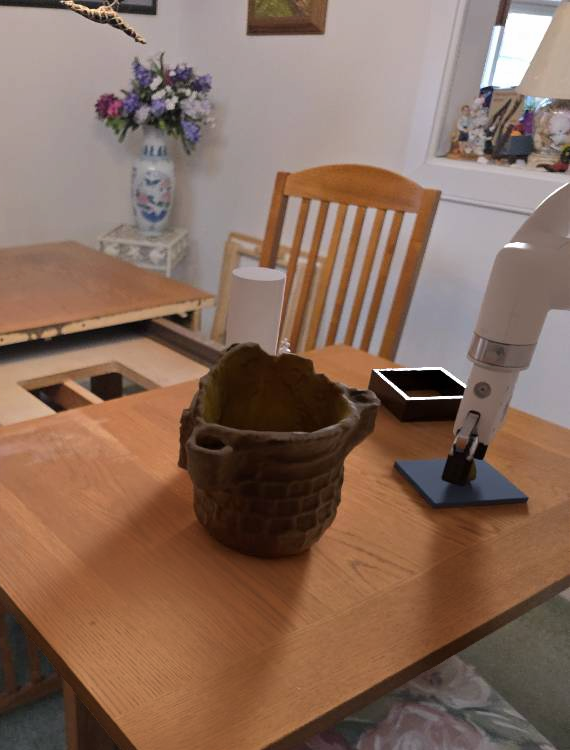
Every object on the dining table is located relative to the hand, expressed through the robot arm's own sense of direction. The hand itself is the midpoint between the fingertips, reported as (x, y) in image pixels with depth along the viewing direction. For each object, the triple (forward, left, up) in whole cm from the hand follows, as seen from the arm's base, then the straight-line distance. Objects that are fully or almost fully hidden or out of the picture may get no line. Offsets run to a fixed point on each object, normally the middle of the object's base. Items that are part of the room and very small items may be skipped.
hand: (462, 469), depth 99 cm
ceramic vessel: (+33, +9, -2) cm, 34 cm away
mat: (0, 0, -2) cm, 2 cm away
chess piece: (+16, -33, -2) cm, 37 cm away
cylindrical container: (+28, -15, -2) cm, 32 cm away
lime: (0, 0, -2) cm, 2 cm away
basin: (-8, -27, -2) cm, 28 cm away
